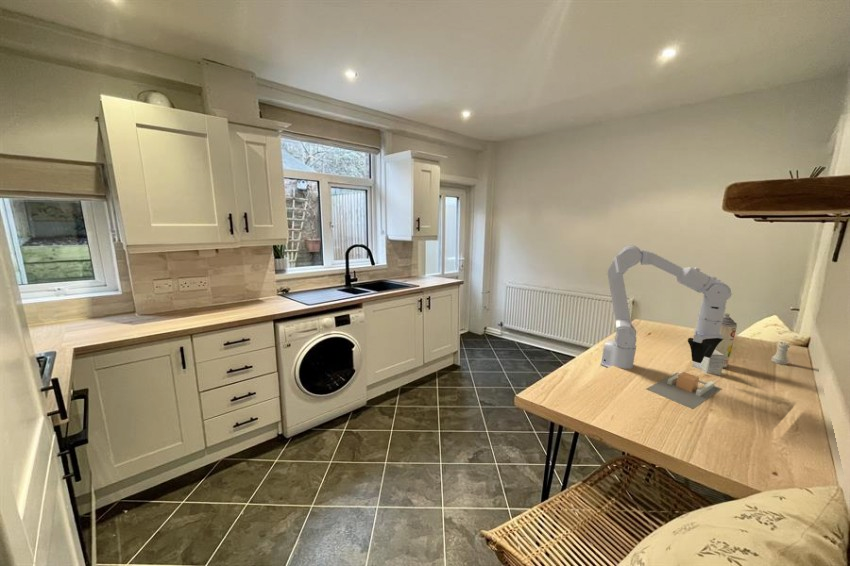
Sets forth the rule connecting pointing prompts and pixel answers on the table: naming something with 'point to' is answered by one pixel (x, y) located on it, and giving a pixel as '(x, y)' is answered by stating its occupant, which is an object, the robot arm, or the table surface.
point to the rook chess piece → (781, 354)
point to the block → (687, 381)
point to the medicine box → (711, 363)
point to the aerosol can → (726, 337)
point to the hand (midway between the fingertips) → (701, 359)
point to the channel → (683, 391)
